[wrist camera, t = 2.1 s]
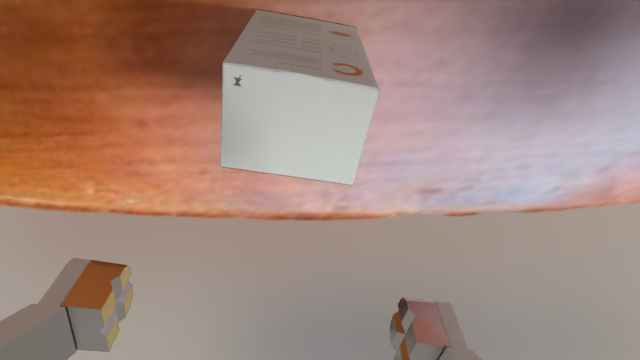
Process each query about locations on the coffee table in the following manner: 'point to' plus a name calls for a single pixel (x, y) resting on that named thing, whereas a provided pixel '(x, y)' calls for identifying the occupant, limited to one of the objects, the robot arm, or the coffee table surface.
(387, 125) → the coffee table surface
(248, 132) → the small box
